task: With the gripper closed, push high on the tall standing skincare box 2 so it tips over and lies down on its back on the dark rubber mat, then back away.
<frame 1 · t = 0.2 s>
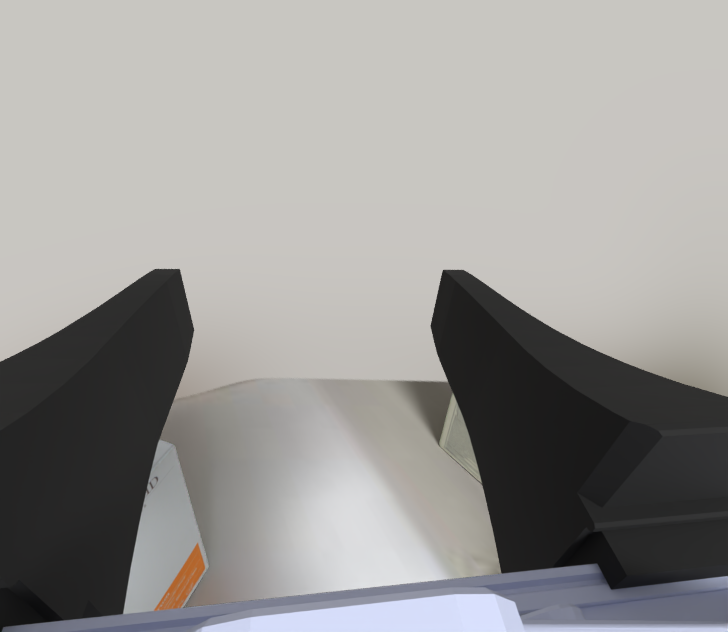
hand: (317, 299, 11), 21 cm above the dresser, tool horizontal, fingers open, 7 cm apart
skincare box 2: (150, 605, 23), on the dresser
skincare box: (479, 458, 33), on the dresser
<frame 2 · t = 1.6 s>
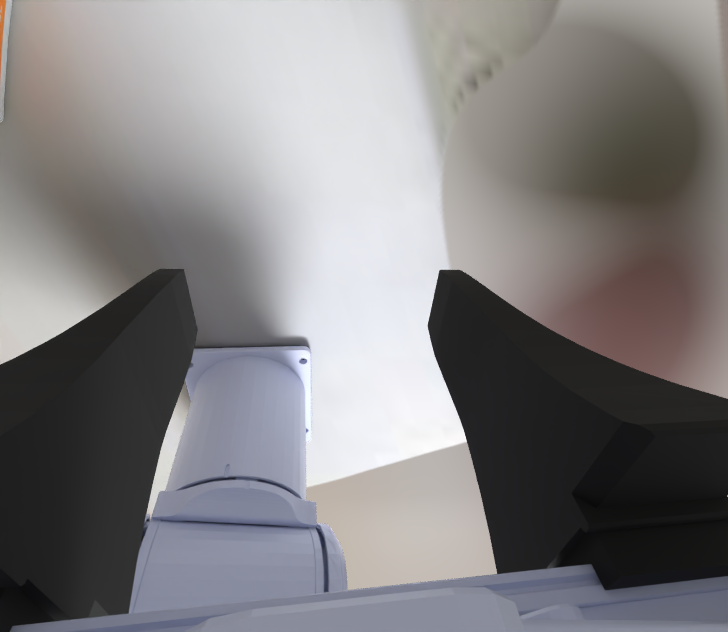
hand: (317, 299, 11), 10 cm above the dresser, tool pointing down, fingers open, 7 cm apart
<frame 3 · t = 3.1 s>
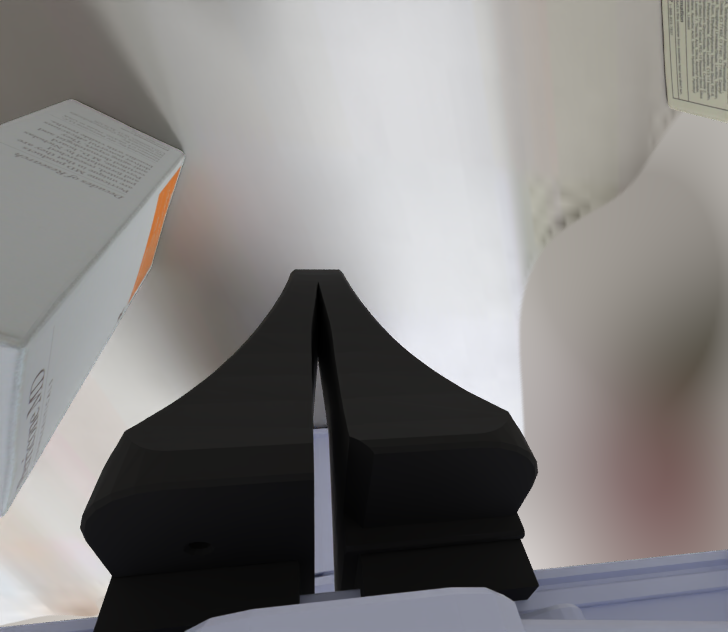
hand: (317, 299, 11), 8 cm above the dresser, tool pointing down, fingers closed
skincare box 2: (120, 189, 17), on the dresser
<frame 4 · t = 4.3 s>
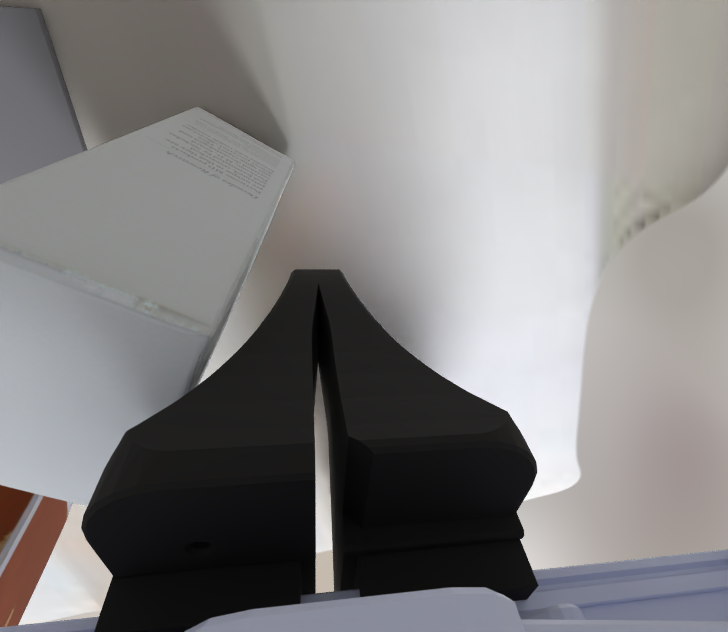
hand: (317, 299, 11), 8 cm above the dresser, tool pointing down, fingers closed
skincare box 2: (227, 195, 17), on the dresser
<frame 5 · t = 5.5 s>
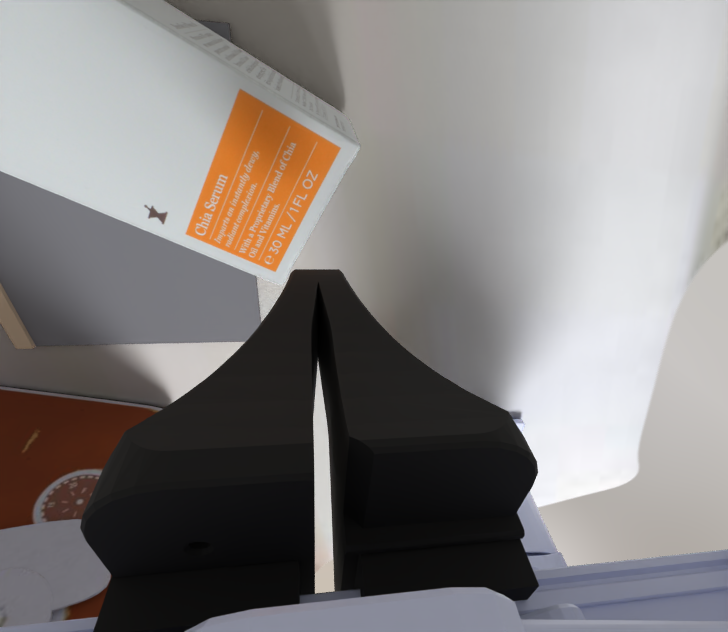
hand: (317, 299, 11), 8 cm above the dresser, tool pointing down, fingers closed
skincare box 2: (324, 203, 15), point 2 cm above the dresser, touching rubber mat
rubber mat: (104, 214, 17), on the dresser
cine camera: (12, 417, 24), on the dresser
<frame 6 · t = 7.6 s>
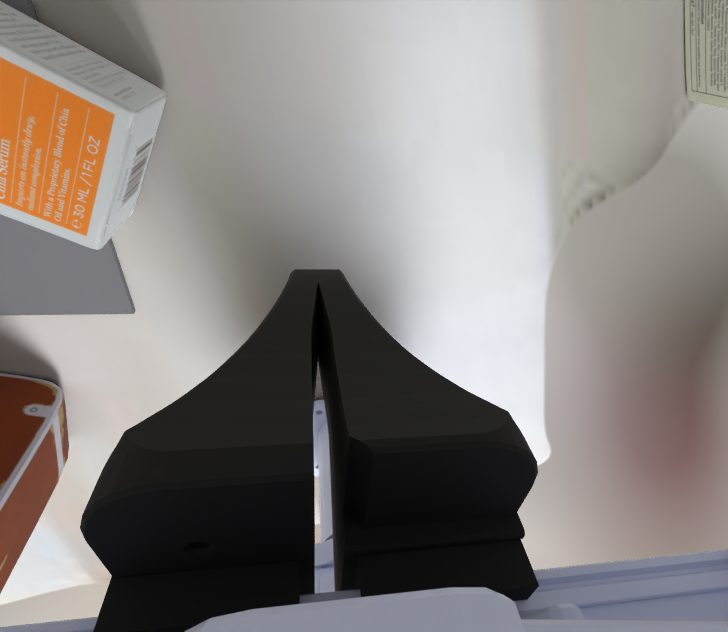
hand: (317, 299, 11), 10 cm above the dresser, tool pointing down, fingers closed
skincare box 2: (141, 173, 16), point 2 cm above the dresser, touching rubber mat
skincare box: (727, 3, 17), on the dresser
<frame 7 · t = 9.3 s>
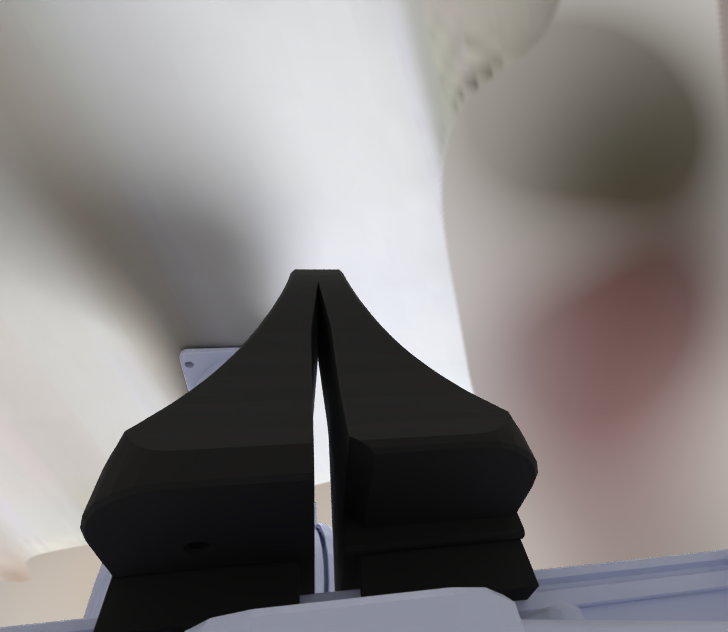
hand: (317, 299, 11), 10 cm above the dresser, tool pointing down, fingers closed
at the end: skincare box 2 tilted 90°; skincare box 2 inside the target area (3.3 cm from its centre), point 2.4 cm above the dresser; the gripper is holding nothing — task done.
